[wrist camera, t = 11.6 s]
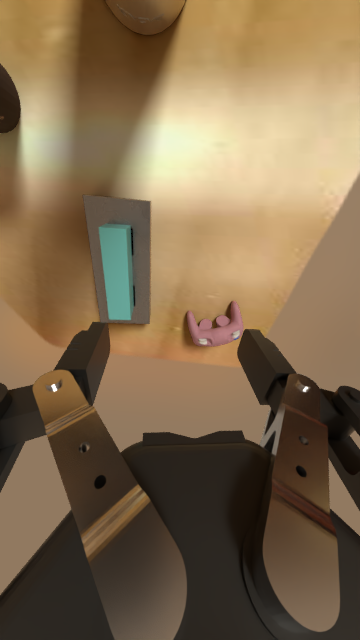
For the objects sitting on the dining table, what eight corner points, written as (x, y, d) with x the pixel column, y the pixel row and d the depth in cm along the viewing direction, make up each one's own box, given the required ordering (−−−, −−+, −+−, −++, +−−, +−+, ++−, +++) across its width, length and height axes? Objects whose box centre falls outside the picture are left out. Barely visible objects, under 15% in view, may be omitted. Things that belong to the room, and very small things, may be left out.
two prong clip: (111, 221, 28) (98, 227, 22) (133, 222, 29) (126, 229, 23) (118, 298, 34) (109, 319, 28) (135, 299, 35) (130, 320, 29)
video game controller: (187, 321, 40) (194, 353, 37) (184, 309, 37) (192, 343, 33) (235, 311, 40) (247, 342, 36) (237, 297, 36) (251, 330, 33)
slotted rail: (91, 195, 27) (82, 194, 24) (151, 201, 28) (150, 201, 25) (105, 312, 36) (100, 322, 33) (150, 313, 37) (149, 323, 34)
